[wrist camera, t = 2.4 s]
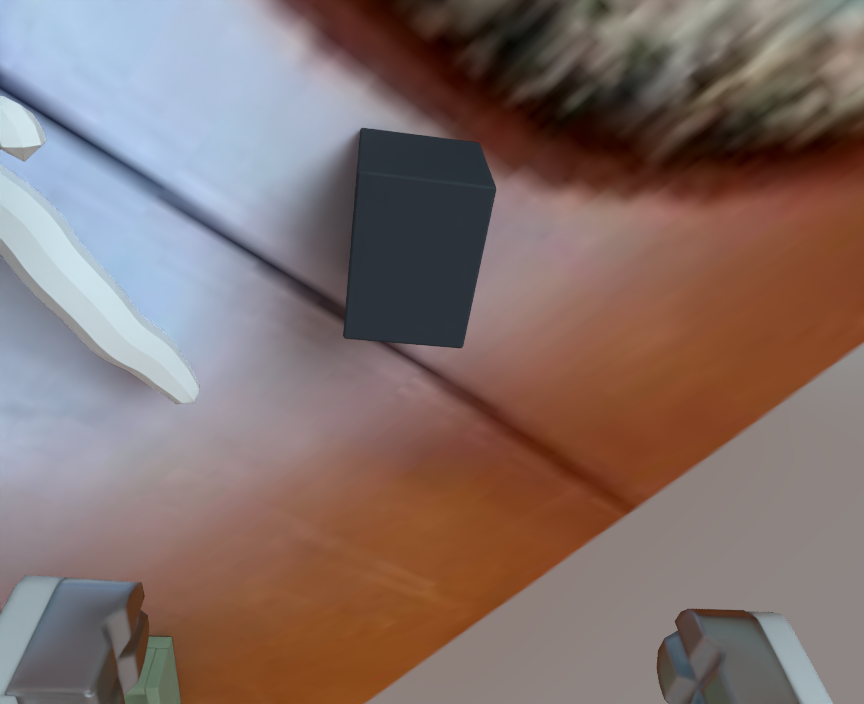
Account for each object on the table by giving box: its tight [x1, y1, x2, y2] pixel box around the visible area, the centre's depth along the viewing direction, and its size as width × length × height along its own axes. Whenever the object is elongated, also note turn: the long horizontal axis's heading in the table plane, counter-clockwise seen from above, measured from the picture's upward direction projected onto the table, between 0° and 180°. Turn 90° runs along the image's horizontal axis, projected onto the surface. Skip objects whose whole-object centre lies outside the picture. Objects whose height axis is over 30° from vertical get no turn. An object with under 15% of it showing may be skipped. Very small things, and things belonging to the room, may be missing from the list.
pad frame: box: [124, 636, 181, 704], centre depth 34 cm, size 6×8×3 cm
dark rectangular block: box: [343, 128, 496, 348], centre depth 19 cm, size 4×5×4 cm
